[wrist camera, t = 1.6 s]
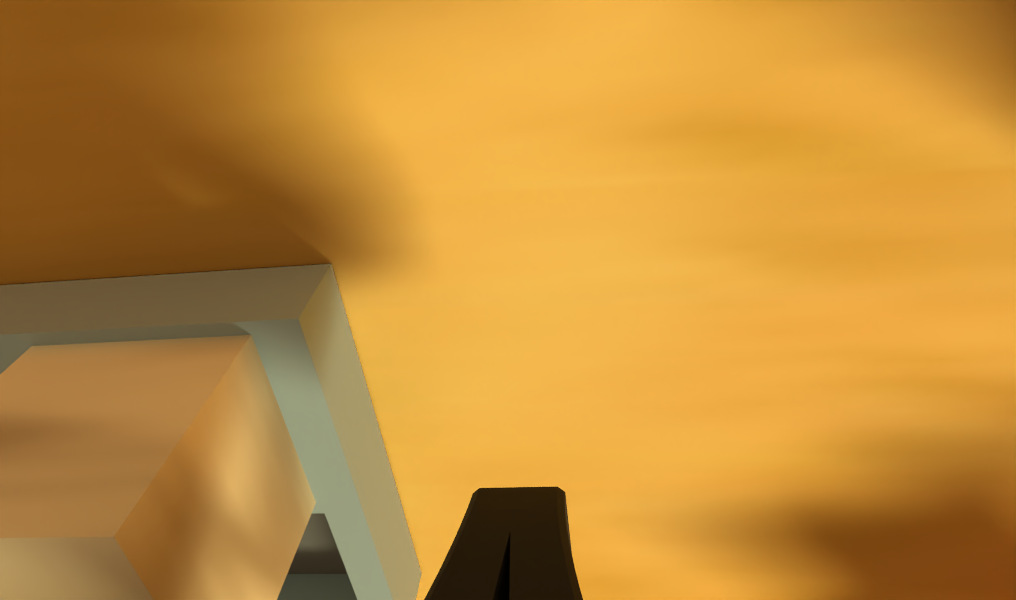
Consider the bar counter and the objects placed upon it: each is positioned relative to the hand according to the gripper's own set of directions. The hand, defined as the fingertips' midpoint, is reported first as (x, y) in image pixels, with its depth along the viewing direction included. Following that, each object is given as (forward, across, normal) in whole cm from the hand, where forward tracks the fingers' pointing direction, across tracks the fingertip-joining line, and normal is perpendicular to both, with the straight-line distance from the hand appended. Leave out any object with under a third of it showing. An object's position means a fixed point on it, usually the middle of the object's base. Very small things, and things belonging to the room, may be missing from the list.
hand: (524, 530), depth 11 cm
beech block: (+3, +7, 0) cm, 8 cm away
